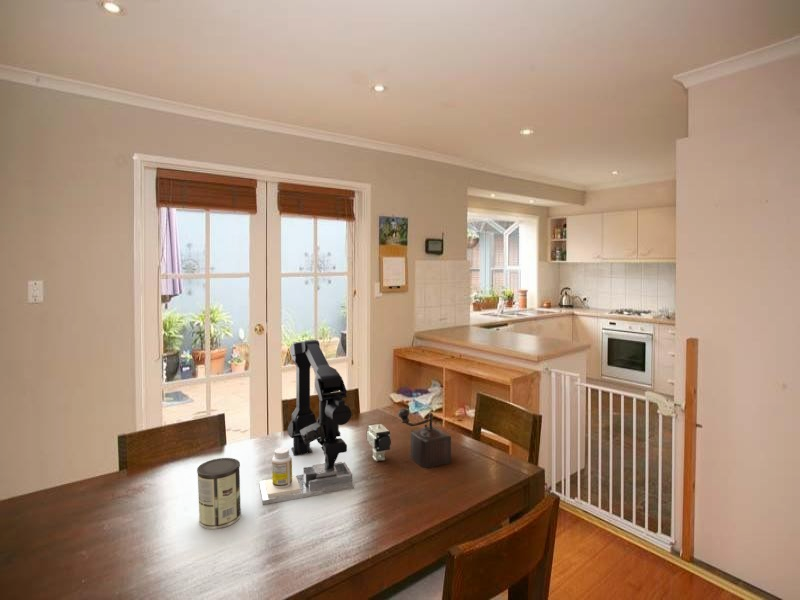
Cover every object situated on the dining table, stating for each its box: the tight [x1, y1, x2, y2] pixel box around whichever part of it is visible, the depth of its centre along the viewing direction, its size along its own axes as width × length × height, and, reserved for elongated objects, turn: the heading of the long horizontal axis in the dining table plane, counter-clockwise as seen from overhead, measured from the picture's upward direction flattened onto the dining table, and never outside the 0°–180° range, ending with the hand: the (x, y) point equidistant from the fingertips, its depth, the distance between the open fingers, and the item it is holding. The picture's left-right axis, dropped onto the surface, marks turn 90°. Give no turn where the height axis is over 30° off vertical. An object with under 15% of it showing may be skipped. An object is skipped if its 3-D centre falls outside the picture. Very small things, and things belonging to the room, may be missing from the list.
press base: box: [259, 461, 355, 505], centre depth 136 cm, size 12×26×4 cm, turn 111°
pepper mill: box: [397, 407, 452, 469], centre depth 154 cm, size 16×11×18 cm
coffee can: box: [196, 457, 242, 530], centre depth 119 cm, size 10×10×14 cm
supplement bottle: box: [271, 447, 293, 488], centre depth 133 cm, size 6×6×10 cm
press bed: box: [264, 474, 300, 497], centre depth 134 cm, size 9×9×1 cm
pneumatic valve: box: [365, 422, 392, 463], centre depth 156 cm, size 6×12×12 cm, turn 23°
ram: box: [303, 454, 337, 484], centre depth 137 cm, size 7×9×8 cm
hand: (329, 465), depth 139 cm, fingers closed on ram, 3 cm apart
